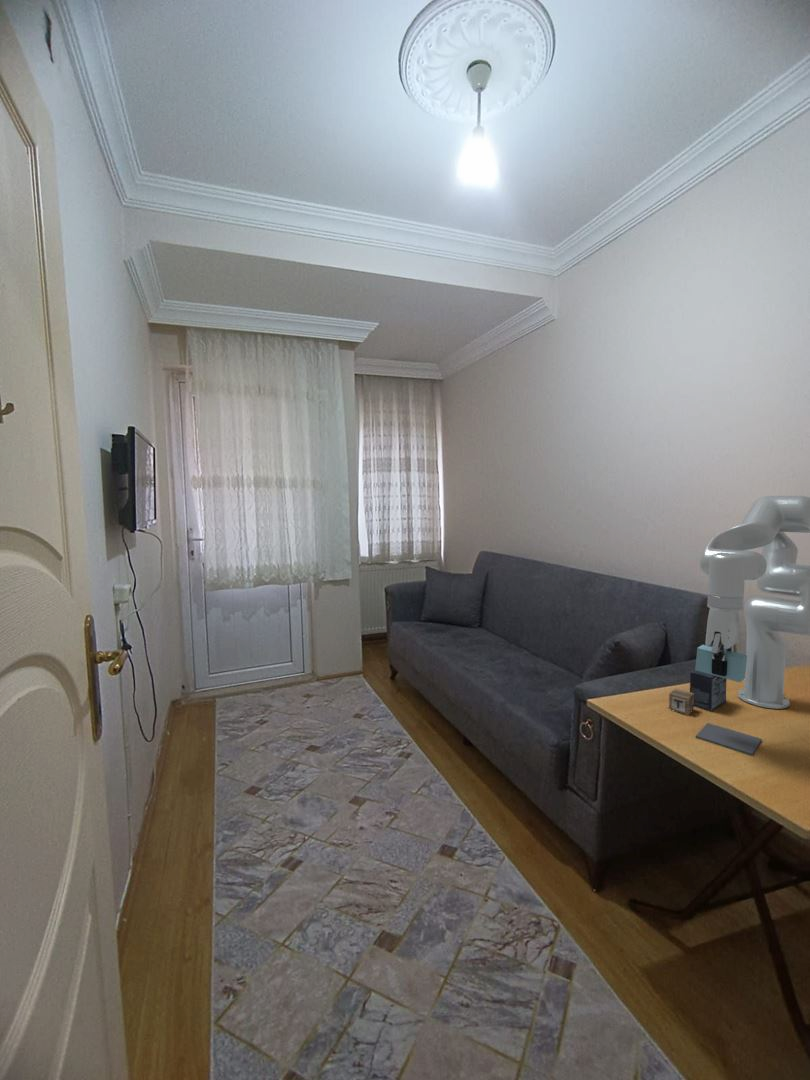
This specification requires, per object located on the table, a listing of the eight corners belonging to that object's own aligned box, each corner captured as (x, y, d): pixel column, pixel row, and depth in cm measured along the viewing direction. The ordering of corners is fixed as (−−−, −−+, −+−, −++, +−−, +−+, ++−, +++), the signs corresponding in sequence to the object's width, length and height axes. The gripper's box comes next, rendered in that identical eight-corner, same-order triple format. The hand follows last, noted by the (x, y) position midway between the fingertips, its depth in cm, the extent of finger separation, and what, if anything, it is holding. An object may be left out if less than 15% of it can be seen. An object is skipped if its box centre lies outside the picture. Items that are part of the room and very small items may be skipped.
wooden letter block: (674, 704, 143) (675, 688, 142) (693, 709, 139) (694, 693, 139) (668, 710, 139) (668, 693, 139) (687, 716, 136) (688, 699, 135)
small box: (703, 695, 149) (704, 662, 148) (726, 702, 144) (728, 668, 143) (687, 704, 143) (689, 670, 142) (711, 712, 137) (713, 676, 136)
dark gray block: (707, 724, 130) (707, 722, 130) (761, 740, 121) (761, 738, 121) (695, 737, 123) (695, 735, 123) (752, 755, 115) (752, 753, 115)
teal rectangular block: (700, 666, 128) (702, 644, 127) (744, 678, 121) (747, 655, 120) (695, 669, 125) (697, 647, 125) (740, 682, 118) (742, 659, 117)
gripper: (718, 595, 129) (715, 660, 131) (696, 605, 118) (694, 677, 120) (752, 599, 123) (748, 668, 125) (732, 610, 112) (729, 685, 114)
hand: (721, 671), depth 122 cm, fingers closed on teal rectangular block, 4 cm apart
